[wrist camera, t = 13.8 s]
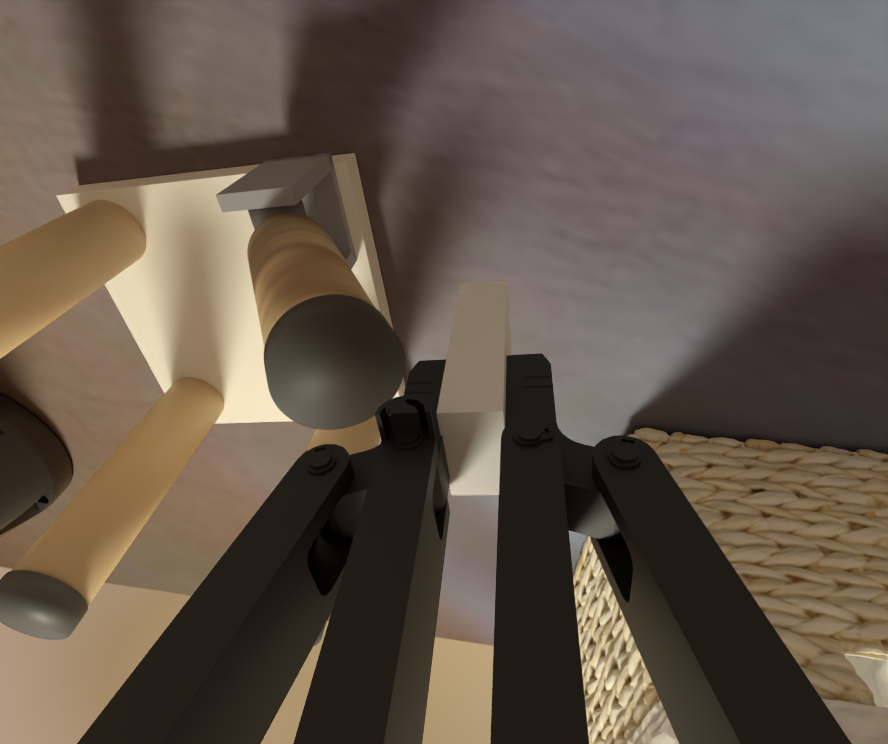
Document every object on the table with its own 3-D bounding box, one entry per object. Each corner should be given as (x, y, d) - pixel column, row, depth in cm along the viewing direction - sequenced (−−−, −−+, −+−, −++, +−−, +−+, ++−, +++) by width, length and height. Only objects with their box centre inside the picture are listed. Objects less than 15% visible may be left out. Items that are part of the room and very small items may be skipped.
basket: (821, 641, 53) (973, 962, 35) (552, 609, 55) (570, 900, 37) (994, 445, 37) (1427, 853, 20) (607, 410, 39) (685, 754, 21)
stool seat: (194, 408, 43) (15, 641, 28) (73, 175, 33) (-327, 342, 17) (408, 400, 40) (342, 656, 25) (352, 141, 30) (175, 307, 14)
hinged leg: (333, 261, 29) (257, 282, 28) (312, 185, 27) (228, 204, 26) (415, 404, 18) (291, 447, 17) (391, 293, 15) (246, 335, 14)
